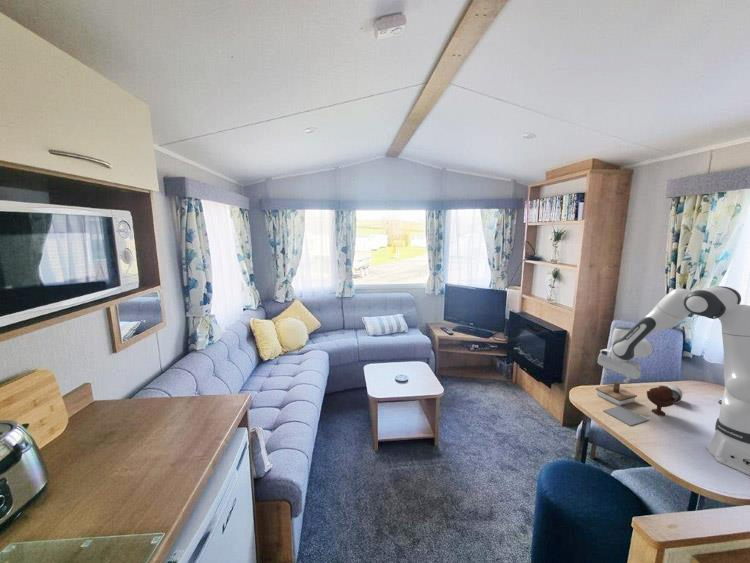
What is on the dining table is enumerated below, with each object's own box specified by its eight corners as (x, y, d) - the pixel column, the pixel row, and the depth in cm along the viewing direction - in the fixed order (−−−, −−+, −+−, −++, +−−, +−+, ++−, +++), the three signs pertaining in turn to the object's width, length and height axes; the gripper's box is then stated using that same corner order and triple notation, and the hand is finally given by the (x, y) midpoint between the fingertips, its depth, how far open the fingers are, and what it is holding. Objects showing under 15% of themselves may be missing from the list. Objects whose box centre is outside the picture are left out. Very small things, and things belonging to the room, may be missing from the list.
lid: (636, 396, 166) (638, 386, 165) (619, 401, 162) (621, 391, 161) (612, 385, 178) (613, 376, 177) (595, 389, 174) (596, 380, 173)
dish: (634, 401, 166) (635, 396, 166) (619, 405, 163) (619, 400, 162) (611, 390, 178) (612, 386, 177) (596, 394, 174) (597, 389, 174)
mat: (648, 420, 150) (648, 419, 150) (630, 426, 146) (630, 425, 146) (620, 406, 162) (620, 405, 162) (603, 411, 159) (603, 410, 158)
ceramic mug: (682, 399, 167) (683, 386, 166) (680, 405, 162) (682, 392, 161) (656, 392, 175) (657, 380, 174) (653, 398, 170) (655, 385, 169)
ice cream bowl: (660, 406, 161) (664, 380, 158) (679, 419, 150) (683, 391, 148) (639, 406, 162) (642, 380, 160) (655, 419, 151) (659, 391, 149)
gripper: (645, 362, 157) (641, 387, 160) (605, 347, 176) (602, 369, 179) (637, 364, 155) (633, 389, 158) (597, 349, 175) (594, 371, 177)
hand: (616, 378), depth 169 cm, fingers open, 8 cm apart
